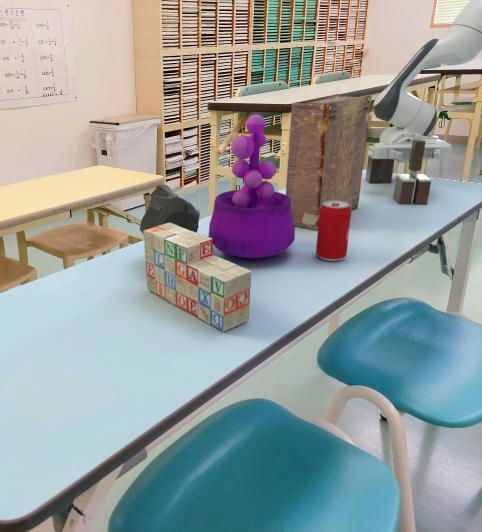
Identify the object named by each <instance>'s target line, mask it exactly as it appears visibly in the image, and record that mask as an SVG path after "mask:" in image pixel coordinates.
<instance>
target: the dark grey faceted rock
mask: <svg viewBox="0 0 482 532" xmlns="http://www.w3.org/2000/svg"><path fill="white" fill-rule="evenodd" d="M147 195H148V196H149V197H150V199H149V201H148V202H149V203H148V206H147V209H146V211H145V213H144V215H143V217H142V218H141V221H140V225H139V231H140V232H141V234H142V235H143V236H144V230H147V229H150V228H153V227H157V226H159V225H163V224H166V223H172V224H175V225H177V226H179V227H182V228H185V229H187V230H190V231H193V232H196V233H198V230H199V226H200V225H199V222H200V215H201V210H200V209H199V208H197V206H195V205H193V203H191V202H190V201H189V200H187V199H186V198H182V197H180V196H179V195H178V194H177V193H176V192H174V191H173V189H172V188H171V187H170V186H169V185H167V184H159V185H157V186H156V188H155V189H154V190H153V191H152V192H151V193H147Z"/></svg>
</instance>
